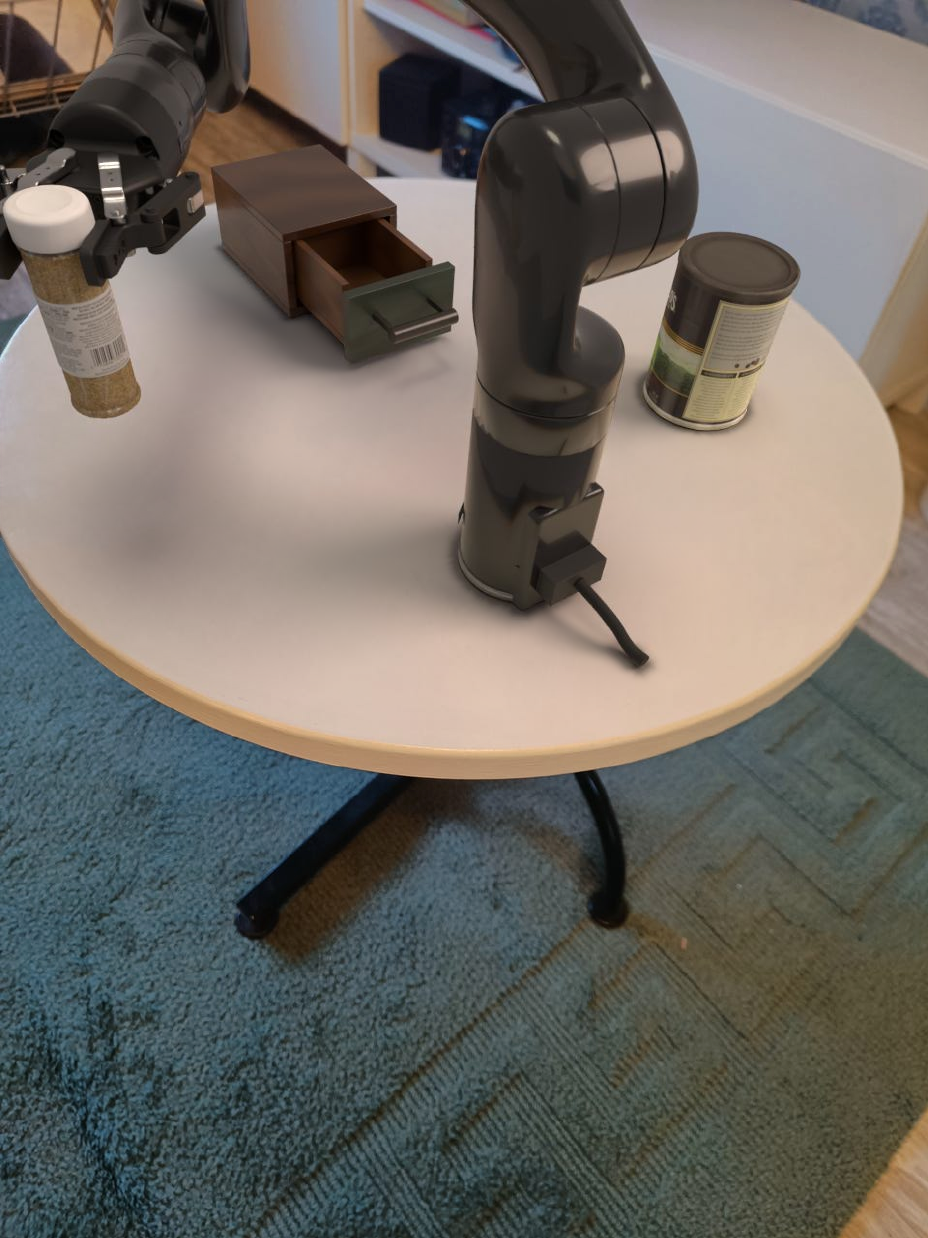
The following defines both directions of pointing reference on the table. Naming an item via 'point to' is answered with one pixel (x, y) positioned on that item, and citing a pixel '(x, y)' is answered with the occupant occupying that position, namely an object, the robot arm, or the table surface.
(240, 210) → the cabinet
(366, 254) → the drawer
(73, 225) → the sprinkles bottle
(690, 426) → the coffee can
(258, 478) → the table surface
